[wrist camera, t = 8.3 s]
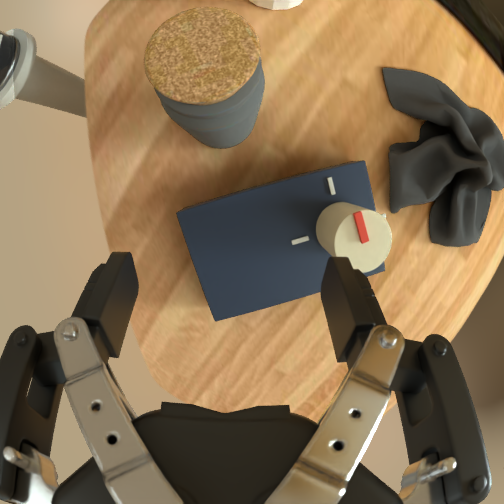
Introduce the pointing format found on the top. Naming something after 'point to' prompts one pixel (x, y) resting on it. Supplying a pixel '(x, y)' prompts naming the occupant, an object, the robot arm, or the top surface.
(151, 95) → the top surface
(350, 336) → the robot arm
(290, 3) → the white cup
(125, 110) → the top surface
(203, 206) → the panel
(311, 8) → the top surface
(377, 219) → the knob
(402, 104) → the cloth
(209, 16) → the bottle
